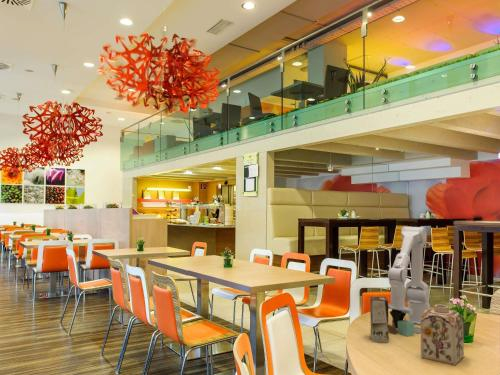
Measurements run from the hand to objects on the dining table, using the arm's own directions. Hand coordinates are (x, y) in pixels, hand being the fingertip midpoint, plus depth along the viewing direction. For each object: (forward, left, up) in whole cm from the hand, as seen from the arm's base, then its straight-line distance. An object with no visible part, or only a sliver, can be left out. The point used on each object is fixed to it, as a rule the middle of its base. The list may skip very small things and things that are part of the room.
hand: (398, 328), depth 182 cm
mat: (-9, +3, -1) cm, 9 cm away
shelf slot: (0, -2, -1) cm, 3 cm away
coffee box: (+14, +4, -2) cm, 15 cm away
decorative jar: (+10, +30, -2) cm, 32 cm away
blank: (0, +4, -1) cm, 4 cm away
